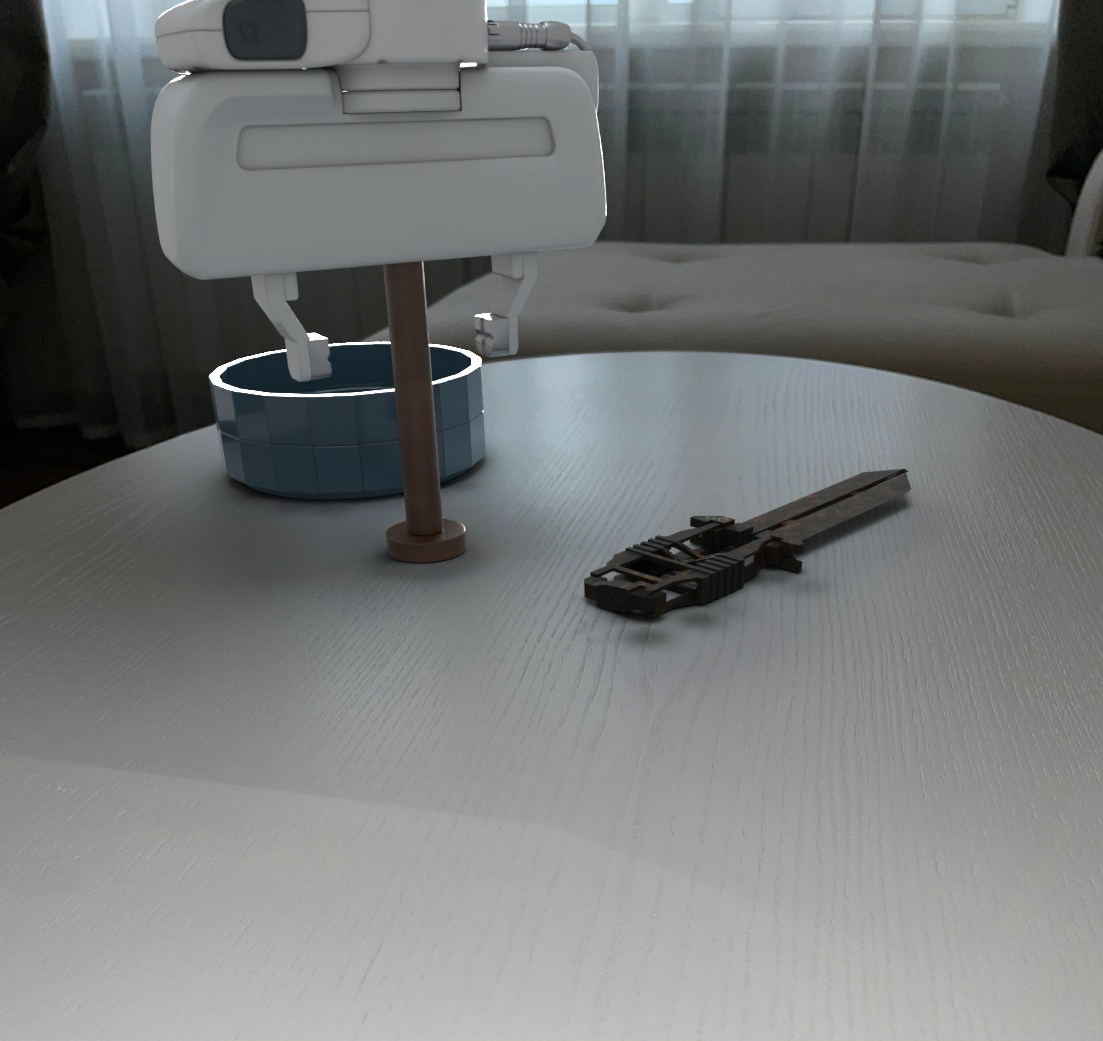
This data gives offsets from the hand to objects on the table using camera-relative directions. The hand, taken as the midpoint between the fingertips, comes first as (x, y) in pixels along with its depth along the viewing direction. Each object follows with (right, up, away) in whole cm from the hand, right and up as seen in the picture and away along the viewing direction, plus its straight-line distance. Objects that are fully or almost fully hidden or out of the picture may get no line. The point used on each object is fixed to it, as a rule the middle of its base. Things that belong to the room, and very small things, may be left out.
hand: (407, 365), depth 54 cm
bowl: (-5, 0, +19) cm, 19 cm away
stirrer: (0, -8, +4) cm, 9 cm away
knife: (+18, -8, +4) cm, 20 cm away
